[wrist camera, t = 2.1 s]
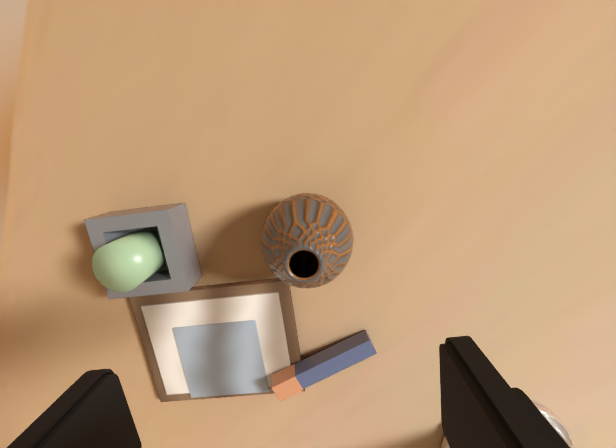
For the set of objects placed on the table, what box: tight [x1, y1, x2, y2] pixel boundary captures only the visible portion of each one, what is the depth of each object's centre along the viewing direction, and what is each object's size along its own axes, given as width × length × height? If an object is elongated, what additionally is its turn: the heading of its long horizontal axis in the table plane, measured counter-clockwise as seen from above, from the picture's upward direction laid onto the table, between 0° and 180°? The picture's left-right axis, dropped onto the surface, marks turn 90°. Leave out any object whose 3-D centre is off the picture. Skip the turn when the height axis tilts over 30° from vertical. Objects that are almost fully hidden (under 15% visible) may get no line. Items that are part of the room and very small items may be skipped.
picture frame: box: [129, 278, 305, 402], centre depth 29 cm, size 15×12×1 cm
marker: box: [271, 330, 377, 401], centre depth 28 cm, size 10×2×2 cm, turn 117°
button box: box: [84, 203, 202, 299], centre depth 26 cm, size 7×7×3 cm
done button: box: [92, 230, 166, 292], centre depth 24 cm, size 4×4×4 cm
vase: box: [261, 193, 353, 288], centre depth 22 cm, size 7×7×9 cm
